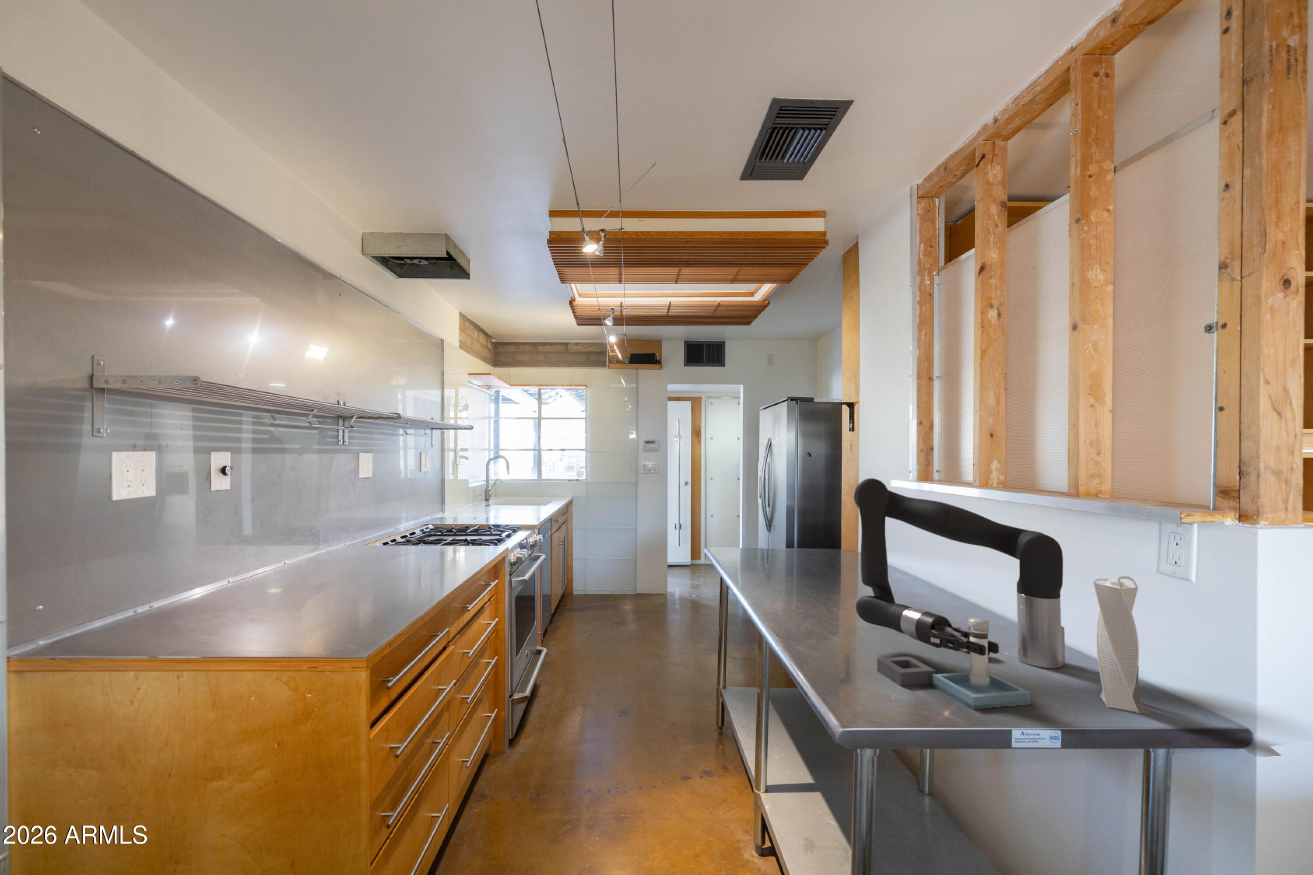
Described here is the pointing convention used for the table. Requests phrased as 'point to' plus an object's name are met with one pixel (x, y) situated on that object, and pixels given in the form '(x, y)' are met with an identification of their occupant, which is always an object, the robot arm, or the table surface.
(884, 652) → the table surface
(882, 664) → the fuse holder
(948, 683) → the tray
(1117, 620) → the skyscraper
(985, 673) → the fuse
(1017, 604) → the robot arm
